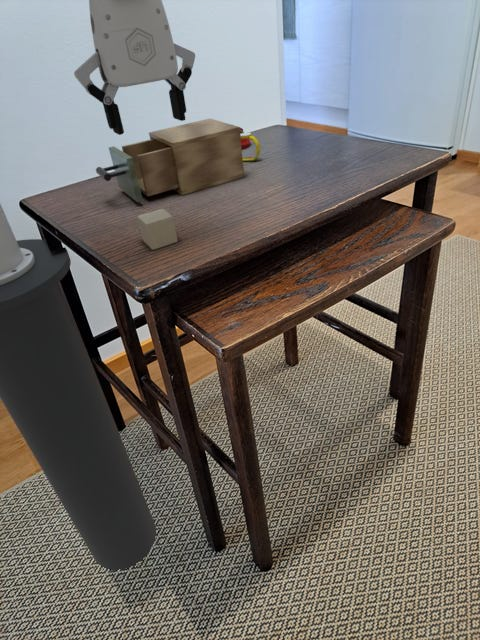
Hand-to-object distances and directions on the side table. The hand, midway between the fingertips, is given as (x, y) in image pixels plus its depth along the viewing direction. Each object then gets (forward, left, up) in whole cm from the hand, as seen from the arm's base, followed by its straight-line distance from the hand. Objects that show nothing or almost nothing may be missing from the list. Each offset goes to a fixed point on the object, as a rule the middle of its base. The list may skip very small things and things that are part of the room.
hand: (149, 126), depth 66 cm
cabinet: (+16, +21, -17) cm, 32 cm away
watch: (+30, +24, -17) cm, 42 cm away
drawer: (+4, +21, -16) cm, 27 cm away
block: (-3, -3, -17) cm, 17 cm away
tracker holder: (+35, +39, -17) cm, 55 cm away
